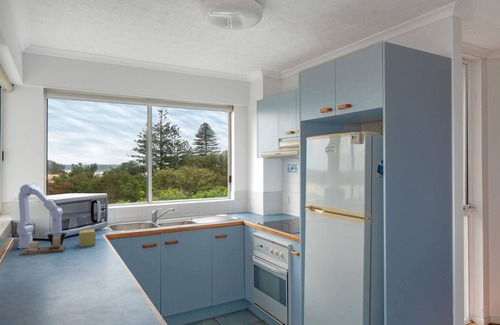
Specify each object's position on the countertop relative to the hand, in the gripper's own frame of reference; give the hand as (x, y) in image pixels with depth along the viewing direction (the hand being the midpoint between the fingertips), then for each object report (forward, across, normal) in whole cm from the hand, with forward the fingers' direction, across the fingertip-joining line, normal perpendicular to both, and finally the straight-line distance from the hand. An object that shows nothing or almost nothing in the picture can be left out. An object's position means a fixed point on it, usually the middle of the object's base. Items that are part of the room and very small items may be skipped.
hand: (57, 245), depth 240 cm
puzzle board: (+2, +6, +9) cm, 11 cm away
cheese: (+2, -19, -2) cm, 19 cm away
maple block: (+2, +12, +9) cm, 15 cm away
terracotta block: (+2, 0, 0) cm, 2 cm away
